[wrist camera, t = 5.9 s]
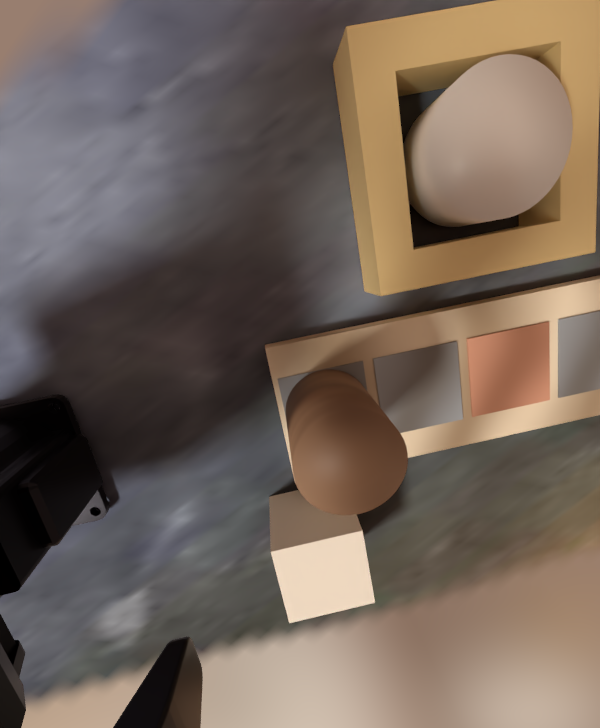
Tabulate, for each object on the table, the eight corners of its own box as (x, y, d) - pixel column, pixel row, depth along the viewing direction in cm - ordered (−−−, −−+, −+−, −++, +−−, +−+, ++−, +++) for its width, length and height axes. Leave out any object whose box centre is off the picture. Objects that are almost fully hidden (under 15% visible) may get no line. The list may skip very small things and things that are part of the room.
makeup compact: (293, 474, 19) (295, 484, 19) (265, 344, 18) (265, 349, 17) (621, 401, 20) (637, 407, 19) (628, 269, 18) (646, 269, 17)
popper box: (364, 291, 17) (381, 296, 15) (332, 64, 15) (346, 26, 12) (550, 253, 18) (595, 252, 15) (548, 26, 15) (602, -19, 13)
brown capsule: (293, 456, 18) (303, 525, 13) (278, 378, 17) (283, 423, 12) (374, 439, 18) (412, 502, 13) (364, 362, 17) (402, 400, 12)
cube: (284, 556, 21) (289, 623, 17) (269, 495, 20) (270, 551, 16) (354, 540, 21) (375, 602, 17) (343, 478, 20) (362, 530, 16)
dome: (407, 237, 16) (438, 231, 13) (393, 106, 15) (424, 68, 12) (517, 215, 16) (571, 205, 14) (514, 84, 15) (573, 41, 12)
